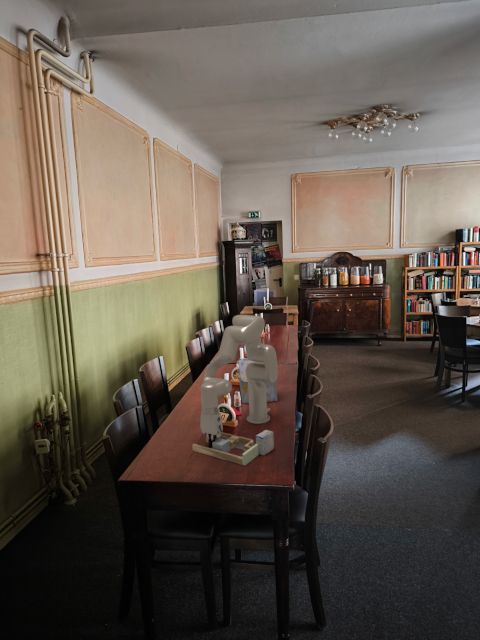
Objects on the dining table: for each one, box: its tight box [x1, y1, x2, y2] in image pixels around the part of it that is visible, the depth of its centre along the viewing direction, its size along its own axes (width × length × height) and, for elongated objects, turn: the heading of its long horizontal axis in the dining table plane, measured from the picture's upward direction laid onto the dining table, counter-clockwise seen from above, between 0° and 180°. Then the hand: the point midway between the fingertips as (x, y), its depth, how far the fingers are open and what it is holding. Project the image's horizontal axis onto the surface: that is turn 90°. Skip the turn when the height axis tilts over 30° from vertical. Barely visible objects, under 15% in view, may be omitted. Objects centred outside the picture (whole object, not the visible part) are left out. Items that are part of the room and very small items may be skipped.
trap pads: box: [233, 443, 245, 451], centre depth 205 cm, size 5×18×1 cm, turn 56°
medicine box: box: [255, 429, 275, 456], centre depth 196 cm, size 8×4×9 cm, turn 141°
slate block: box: [212, 438, 231, 453], centre depth 197 cm, size 6×6×5 cm
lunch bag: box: [237, 357, 278, 404], centre depth 261 cm, size 22×17×26 cm
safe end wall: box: [241, 443, 260, 466], centre depth 189 cm, size 11×1×5 cm, turn 146°
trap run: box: [191, 432, 255, 466], centre depth 200 cm, size 18×28×3 cm, turn 56°
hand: (212, 446), depth 201 cm, fingers closed
